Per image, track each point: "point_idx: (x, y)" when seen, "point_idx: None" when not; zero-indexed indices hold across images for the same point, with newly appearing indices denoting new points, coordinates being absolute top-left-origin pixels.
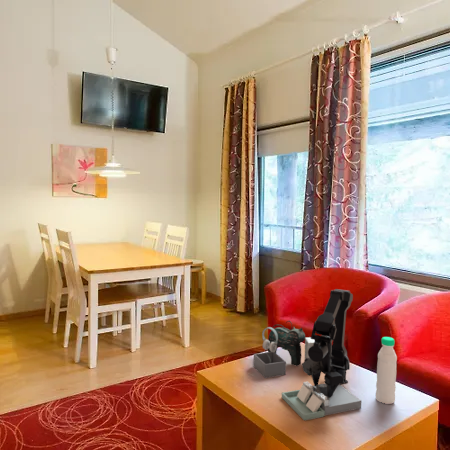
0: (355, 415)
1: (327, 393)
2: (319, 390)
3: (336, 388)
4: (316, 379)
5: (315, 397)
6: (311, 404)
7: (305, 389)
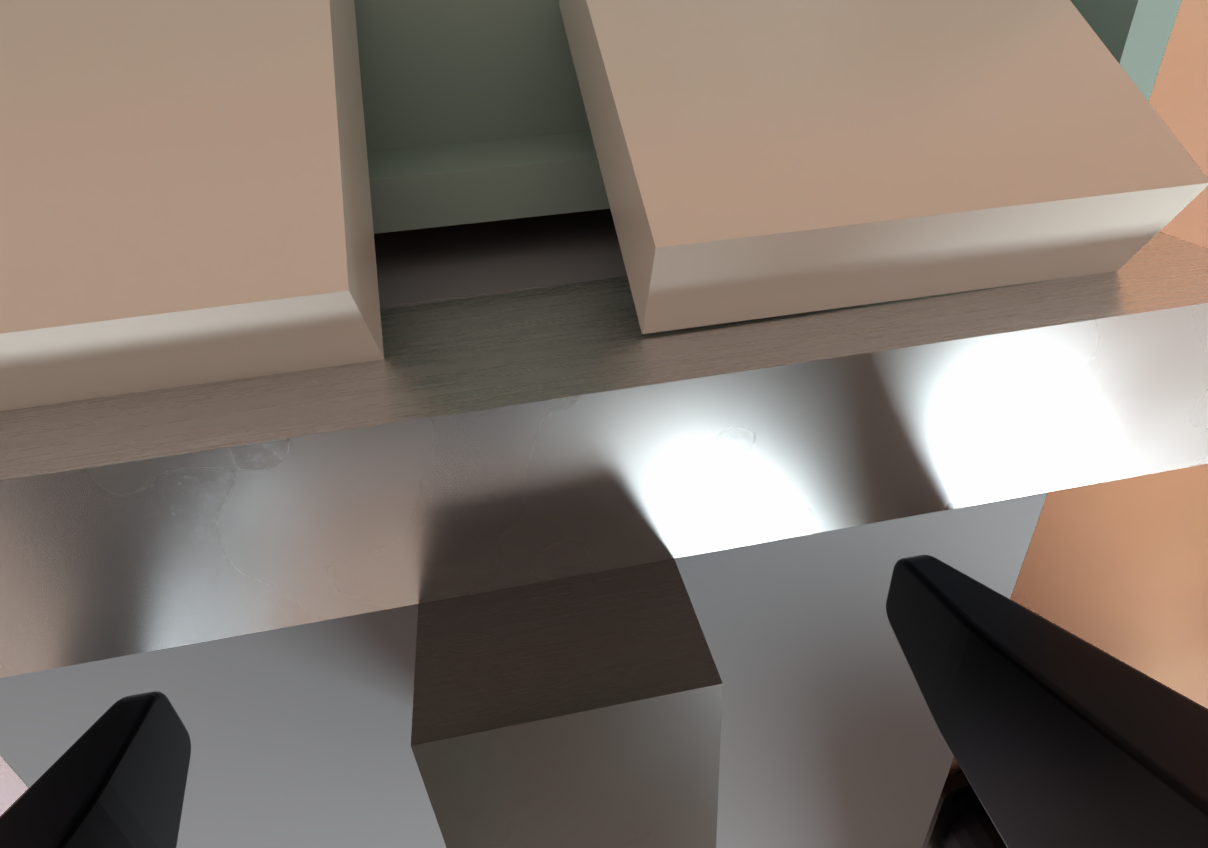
0: (17, 790)
1: (74, 810)
2: (442, 622)
3: (725, 836)
4: (1043, 784)
5: (72, 280)
6: (73, 7)
7: (886, 159)
